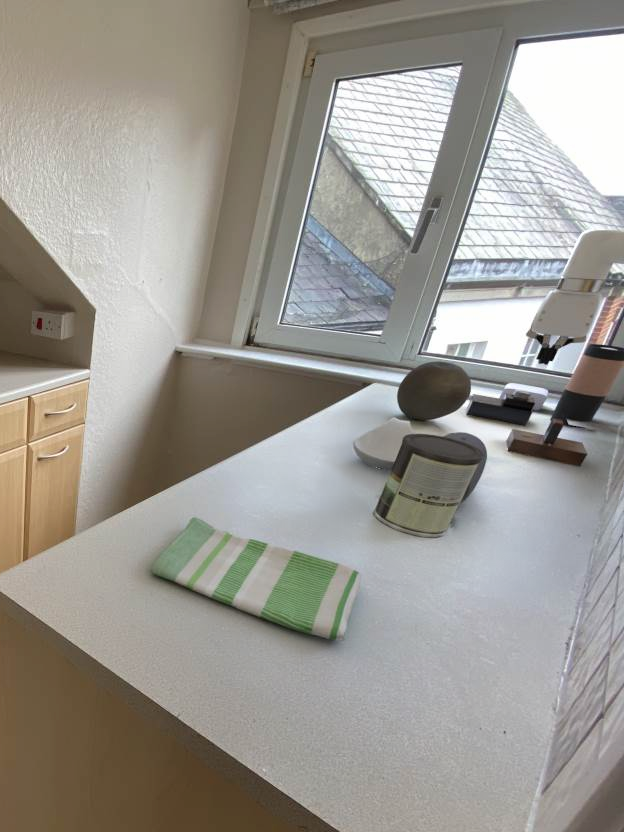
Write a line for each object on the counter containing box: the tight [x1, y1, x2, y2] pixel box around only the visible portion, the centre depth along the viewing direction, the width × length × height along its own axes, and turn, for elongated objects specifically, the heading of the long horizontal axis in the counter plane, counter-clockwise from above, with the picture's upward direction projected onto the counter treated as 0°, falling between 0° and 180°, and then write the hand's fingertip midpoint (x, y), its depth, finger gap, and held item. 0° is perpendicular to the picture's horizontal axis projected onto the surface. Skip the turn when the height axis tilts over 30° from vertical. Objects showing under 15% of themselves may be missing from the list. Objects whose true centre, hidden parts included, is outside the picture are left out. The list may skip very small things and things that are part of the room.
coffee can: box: [373, 433, 484, 538], centre depth 89 cm, size 10×10×14 cm
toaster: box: [465, 393, 535, 427], centre depth 145 cm, size 12×9×6 cm
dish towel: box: [149, 516, 362, 642], centre depth 75 cm, size 18×23×3 cm
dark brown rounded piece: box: [396, 360, 472, 421], centre depth 138 cm, size 14×14×15 cm
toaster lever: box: [512, 390, 530, 400], centre depth 142 cm, size 3×3×2 cm
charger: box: [498, 382, 549, 411], centre depth 159 cm, size 5×9×15 cm
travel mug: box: [549, 343, 624, 429], centre depth 139 cm, size 8×8×20 cm
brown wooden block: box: [506, 428, 588, 468], centre depth 123 cm, size 12×9×3 cm
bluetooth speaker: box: [442, 431, 488, 504], centre depth 100 cm, size 23×9×10 cm, turn 134°
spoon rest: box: [352, 417, 414, 471], centre depth 116 cm, size 24×12×7 cm, turn 140°
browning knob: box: [543, 418, 565, 444], centre depth 121 cm, size 4×2×5 cm, turn 139°
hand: (542, 363), depth 137 cm, fingers closed
